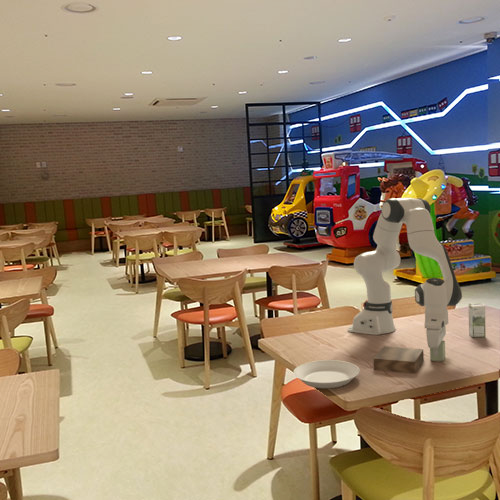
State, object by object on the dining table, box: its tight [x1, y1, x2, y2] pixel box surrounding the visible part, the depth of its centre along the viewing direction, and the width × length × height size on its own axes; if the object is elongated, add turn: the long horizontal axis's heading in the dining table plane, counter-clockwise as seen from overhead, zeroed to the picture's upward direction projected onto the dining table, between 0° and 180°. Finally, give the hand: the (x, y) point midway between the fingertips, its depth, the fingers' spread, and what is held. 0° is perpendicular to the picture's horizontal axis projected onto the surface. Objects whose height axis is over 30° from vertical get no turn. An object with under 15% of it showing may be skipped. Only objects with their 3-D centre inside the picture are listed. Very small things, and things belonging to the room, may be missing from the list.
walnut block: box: [372, 346, 425, 374], centre depth 229 cm, size 16×16×5 cm
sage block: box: [429, 340, 446, 362], centre depth 232 cm, size 5×5×7 cm
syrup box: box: [468, 302, 487, 338], centre depth 258 cm, size 6×6×14 cm
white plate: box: [292, 359, 361, 389], centre depth 219 cm, size 25×25×4 cm
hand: (437, 352), depth 232 cm, fingers closed on sage block, 5 cm apart
